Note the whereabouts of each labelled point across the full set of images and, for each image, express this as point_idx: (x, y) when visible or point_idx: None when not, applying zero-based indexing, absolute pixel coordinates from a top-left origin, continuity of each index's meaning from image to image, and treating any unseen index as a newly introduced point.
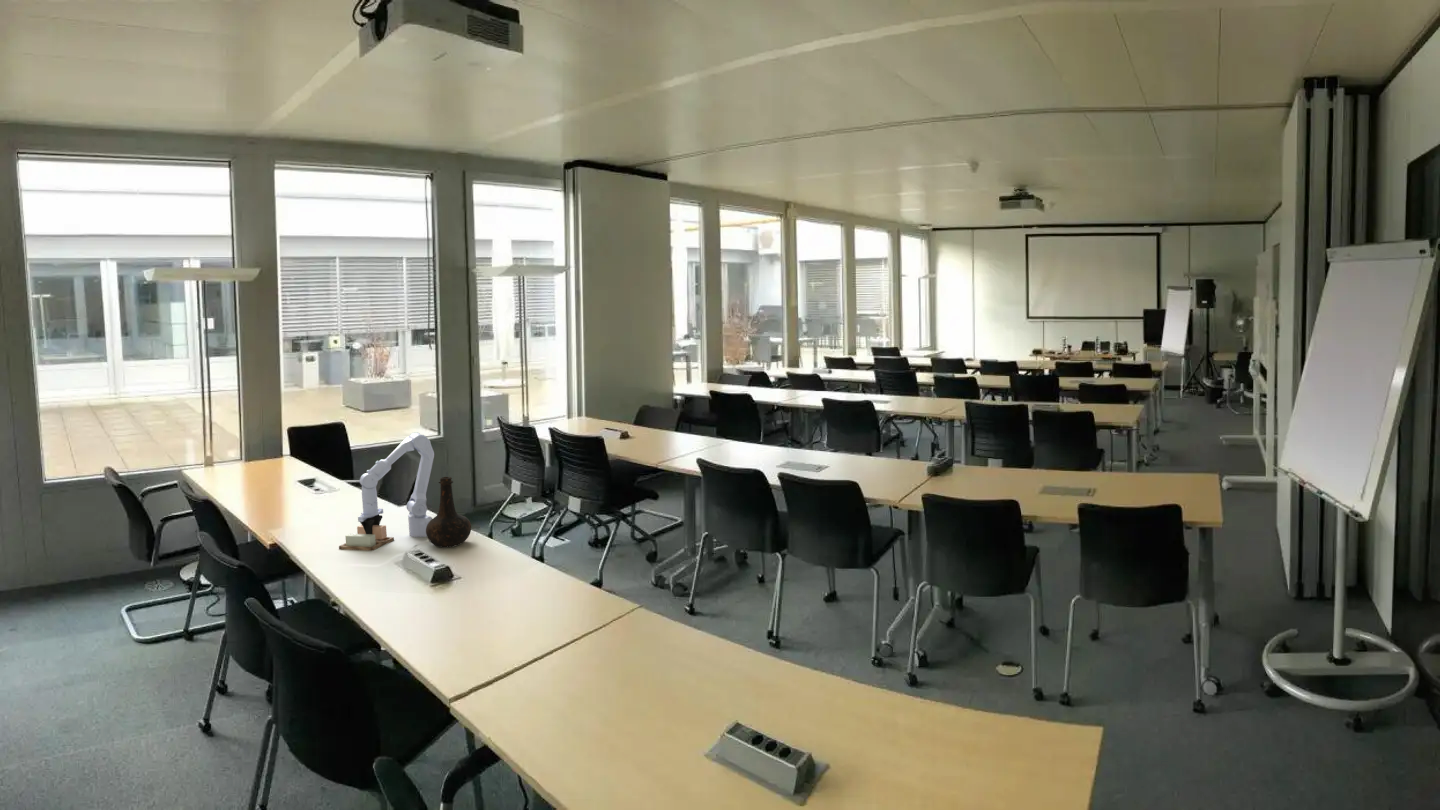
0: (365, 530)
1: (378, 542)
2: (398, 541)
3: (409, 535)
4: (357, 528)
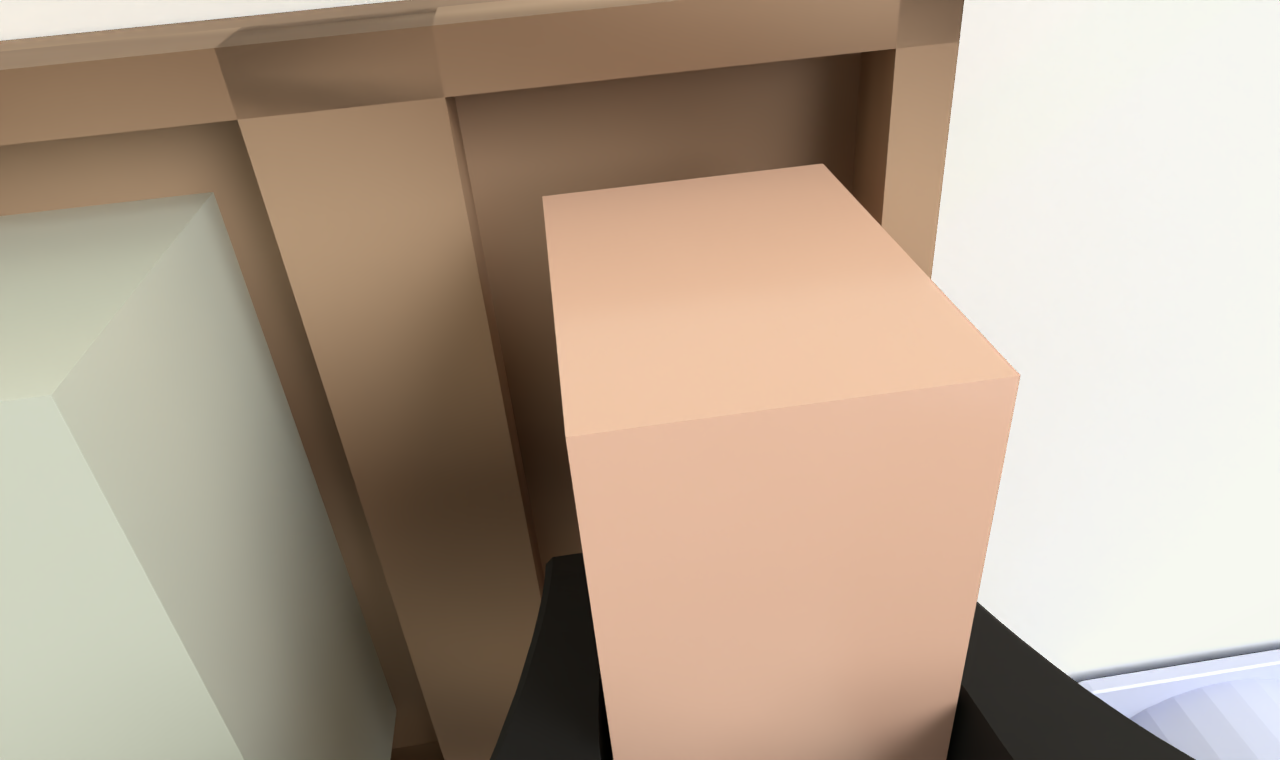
0: (525, 703)
1: (483, 751)
2: None
3: (1144, 722)
4: (564, 399)
